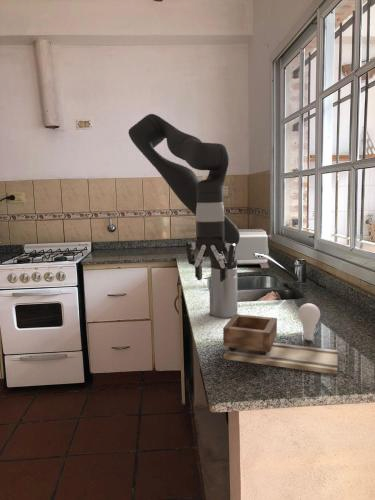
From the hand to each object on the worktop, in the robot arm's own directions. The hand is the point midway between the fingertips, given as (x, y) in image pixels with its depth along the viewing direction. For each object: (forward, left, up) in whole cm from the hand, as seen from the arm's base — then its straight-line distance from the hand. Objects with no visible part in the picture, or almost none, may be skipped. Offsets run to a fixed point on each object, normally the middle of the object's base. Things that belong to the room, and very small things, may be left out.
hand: (211, 280), depth 106 cm
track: (+19, 0, -20) cm, 27 cm away
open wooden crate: (+11, 0, -18) cm, 21 cm away
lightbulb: (+25, +14, -20) cm, 35 cm away
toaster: (-20, +121, -20) cm, 124 cm away
